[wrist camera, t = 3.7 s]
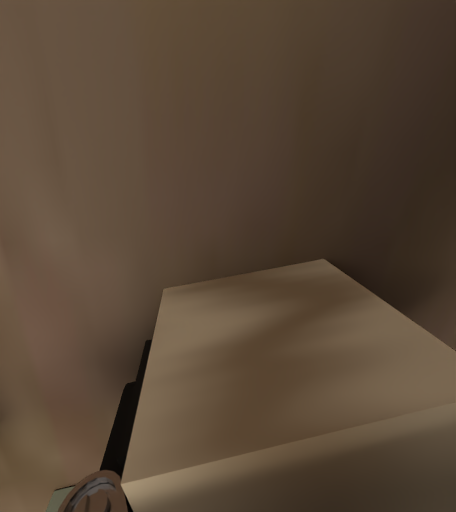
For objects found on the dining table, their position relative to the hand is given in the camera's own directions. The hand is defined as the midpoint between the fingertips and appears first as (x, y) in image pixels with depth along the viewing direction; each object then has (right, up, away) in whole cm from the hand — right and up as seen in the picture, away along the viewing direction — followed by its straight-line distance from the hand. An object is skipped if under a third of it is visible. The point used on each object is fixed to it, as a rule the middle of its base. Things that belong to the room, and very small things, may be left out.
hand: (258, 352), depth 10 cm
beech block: (0, 0, +1) cm, 1 cm away
